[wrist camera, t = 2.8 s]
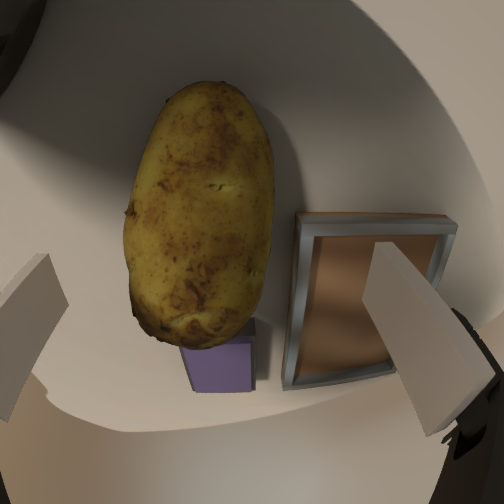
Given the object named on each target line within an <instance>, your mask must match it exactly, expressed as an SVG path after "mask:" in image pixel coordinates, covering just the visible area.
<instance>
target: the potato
mask: <svg viewBox="0 0 504 504" xmlns="http://www.w3.org/2000/svg"><path fill="white" fill-rule="evenodd" d="M274 191H275V189H274V164H273V155H272V150H271V146H270V142H269V139H268V136H267V134H266V132H265V130H264V128H263V126H262V124H261V122H260V120H259V118H258V116H257V114H256V112H255V110H254V108H253V107H252V105H251V104H250V102H249V101H248V99H247V98H246V96H245V95H244V94H243V93H242V92H241V91H240V90H238V89H237V88H236V87H234V86H232V85H230V84H227V83H226V82H224V81H221V82H212V81H201V82H196V83H194V84H191V85H189V86H186V87H185V88H183V89H181V90H180V91H178V92H177V93H176V94H174V95H173V96H172V97H171V98H169V99H167V100H166V105H165V106H164V107H163V109H162V111H161V112H160V114H159V116H158V118H157V120H156V122H155V125H154V127H153V129H152V132H151V134H150V137H149V139H148V142H147V145H146V147H145V150H144V153H143V156H142V159H141V162H140V165H139V169H138V172H137V176H136V179H135V183H134V186H133V190H132V193H131V198H130V202H129V205H128V209H127V210H126V211H125V212H124V213H125V215H126V218H125V224H124V231H123V244H124V254H125V259H126V263H127V267H128V270H129V294H130V300H131V306H132V313H133V316H134V317H136V318H137V320H138V322H139V325H140V326H141V328H142V329H143V330H144V331H145V332H146V333H147V334H148V335H149V336H150V337H151V336H154V337H156V338H157V340H158V341H160V342H166V343H168V344H171V345H175V346H179V347H183V348H186V349H189V350H205V349H210V348H213V347H215V346H220V345H223V344H225V343H226V342H228V341H230V340H231V339H233V338H235V336H236V335H237V334H238V333H239V332H240V331H241V330H242V328H243V327H244V326H245V325H246V323H247V322H248V320H249V318H250V317H251V315H252V313H253V312H254V310H255V308H256V306H257V304H258V302H259V299H260V296H261V292H262V288H263V283H264V278H265V270H266V265H267V261H268V258H269V255H270V251H271V234H272V221H273V211H274Z"/></svg>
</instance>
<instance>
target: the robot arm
mask: <svg viewBox="0 0 504 504" xmlns="http://www.w3.org/2000/svg"><path fill="white" fill-rule="evenodd" d="M45 2H46V0H0V96H1V94H2V93H3V92H4V90H5V89H6V87H7V86H8V84H9V83H10V81H11V79H12V78H13V76H14V74H15V73H16V71H17V69H18V67H19V65H20V64H21V62H22V60H23V58H24V56H25V54H26V52H27V50H28V47H29V45H30V43H31V41H32V39H33V36H34V34H35V31H36V29H37V26H38V24H39V21H40V18H41V15H42V12H43V9H44V6H45ZM362 301H363V303H364V305H365V307H366V309H367V311H368V313H369V314H370V316H371V318H372V320H373V322H374V324H375V326H376V328H377V330H378V332H379V334H380V336H381V338H382V340H383V342H384V344H385V346H386V348H387V350H388V352H389V354H390V356H391V358H392V360H393V362H394V364H395V366H396V368H397V370H398V372H399V375H400V377H401V379H402V381H403V383H404V385H405V388H406V390H407V392H408V394H409V397H410V399H411V401H412V404H413V406H414V408H415V410H416V413H417V415H418V417H419V420H420V423H421V425H422V428H423V430H424V432H425V435H426V437H428V436H430V435H432V434H435V433H437V432H439V431H441V430H444V429H445V428H447V427H448V426H449V425H450V423H452V422H453V421H454V420H455V419H456V421H457V423H458V425H457V426H456V427H455V428H454V429H453V430H452V431H451V432H450V433H448V434H447V435H446V436H445V437H444V438H443V440H442V442H441V443H442V444H443V443H445V442H446V441H447V440H449V439H450V438H451V437H452V439H451V441H450V442H449V443H448V444H447V445H449V449H448V453H447V456H446V459H445V462H444V465H443V468H442V471H441V474H440V477H439V479H438V482H437V485H436V487H435V490H434V492H433V495H432V497H431V499H430V502H429V504H504V372H503V371H502V369H501V367H500V366H499V364H498V363H497V361H496V360H495V358H494V357H493V355H492V354H491V352H490V351H489V349H488V348H487V346H486V345H485V344H484V342H483V341H482V339H479V335H478V334H477V332H476V331H475V330H473V327H472V326H471V324H470V323H469V322H468V320H467V319H466V318H465V317H464V316H463V315H462V314H460V313H459V312H458V311H456V310H455V309H454V308H451V309H450V308H449V306H448V305H447V304H446V303H445V301H444V300H443V299H442V298H441V297H440V295H439V294H438V293H437V292H436V290H435V289H434V288H433V287H432V286H431V284H430V283H429V282H428V281H427V280H426V279H425V277H424V276H423V275H422V274H421V273H420V272H419V271H418V269H417V268H416V267H415V266H414V265H413V264H412V263H411V262H410V260H409V259H408V258H407V257H406V256H405V255H404V254H403V253H402V252H401V251H400V250H399V249H398V247H397V246H396V245H395V244H394V243H393V242H375V247H374V252H373V256H372V261H371V265H370V269H369V274H368V278H367V282H366V286H365V290H364V293H363V297H362ZM68 306H69V304H68V302H67V300H66V297H65V295H64V293H63V290H62V288H61V286H60V283H59V281H58V278H57V275H56V273H55V270H54V267H53V265H52V262H51V259H50V256H49V253H41V254H36V255H35V256H34V257H33V258H32V259H31V260H30V261H29V262H28V263H27V264H26V265H25V266H24V267H23V268H22V269H21V271H20V272H19V273H18V274H17V275H16V276H15V277H14V278H13V279H12V280H11V281H10V283H9V284H8V285H7V286H6V287H5V288H4V289H3V291H2V292H1V293H0V419H1V420H3V421H5V422H7V423H8V421H9V419H10V416H11V414H12V411H13V409H14V406H15V404H16V402H17V399H18V397H19V395H20V392H21V391H22V388H23V386H24V384H25V382H26V380H27V378H28V376H29V374H30V372H31V370H32V368H33V366H34V364H35V362H36V360H37V358H38V357H39V355H40V353H41V351H42V349H43V347H44V346H45V344H46V342H47V340H48V339H49V337H50V335H51V333H52V332H53V330H54V328H55V327H56V325H57V323H58V322H59V320H60V318H61V317H62V315H63V314H64V312H65V310H66V309H67V307H68ZM0 504H11V503H10V500H9V497H8V495H7V492H6V489H5V486H4V483H3V479H2V476H1V472H0Z"/></svg>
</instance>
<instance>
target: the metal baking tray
mask: <svg viewBox="0 0 504 504" xmlns="http://www.w3.org/2000/svg"><path fill="white" fill-rule="evenodd" d="M457 228H458V224H456V223H455V222H454V221H452V220H451V219H450V218H448V217H447V216H446V215H432V214H406V213H361V212H296V219H295V235H294V249H293V262H292V274H291V286H290V297H289V307H288V317H287V327H286V336H285V345H284V354H283V363H282V371H281V381H282V388H283V391H287V390H297V389H306V388H314V387H322V386H329V385H335V384H341V383H347V382H353V381H358V380H363V379H368V378H373V377H378V376H382V375H387V374H391V373H395V372H396V370H397V368H396V366H395V364H394V362H393V360H392V358H391V356H390V354H389V352H388V350H387V348H386V346H385V344H384V342H383V340H382V338H381V336H380V334H379V332H378V330H377V328H376V326H375V324H374V322H373V320H372V318H371V316H370V314H369V313H368V311H367V309H366V307H365V305H364V303H363V301H362V297H363V293H364V290H365V286H366V282H367V278H368V274H369V269H370V265H371V261H372V256H373V252H374V247H375V242H393V243H394V244H395V245H396V246H397V247H398V249H399V250H400V251H401V252H402V253H403V254H404V255H405V256H406V257H407V258H408V259H409V260H410V262H411V263H412V264H413V265H414V266H415V267H416V268H417V269H418V271H419V272H420V273H421V274H422V275H423V276H424V277H425V279H426V280H427V281H428V282H429V283H430V284H431V286H432V287H433V288H434V289H435V290H436V289H437V286H438V284H439V281H440V279H441V276H442V273H443V271H444V268H445V265H446V262H447V259H448V257H449V254H450V251H451V248H452V244H453V241H454V238H455V235H456V231H457Z"/></svg>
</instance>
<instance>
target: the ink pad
mask: <svg viewBox="0 0 504 504" xmlns="http://www.w3.org/2000/svg"><path fill="white" fill-rule="evenodd" d="M179 349H180V352H181V356H182V359H183V362H184V366H185V369H186V372H187V375H188V378H189V381H190V384H191V387H192V390H193V391H196V393H237V392H251V391H253V390H256V335H255V323H254V318H249V320H248V322H247V323H246V325H245V326H244V327H243V328H242V330H241V331H240V332H239V333H238V334H237V335H236V336H235V338H233V339H231V340H230V341H228V342H226V343H225V344H223V345H220V346H215V347H213V348H210V349H205V350H189V349H186V348H183V347H179Z"/></svg>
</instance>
